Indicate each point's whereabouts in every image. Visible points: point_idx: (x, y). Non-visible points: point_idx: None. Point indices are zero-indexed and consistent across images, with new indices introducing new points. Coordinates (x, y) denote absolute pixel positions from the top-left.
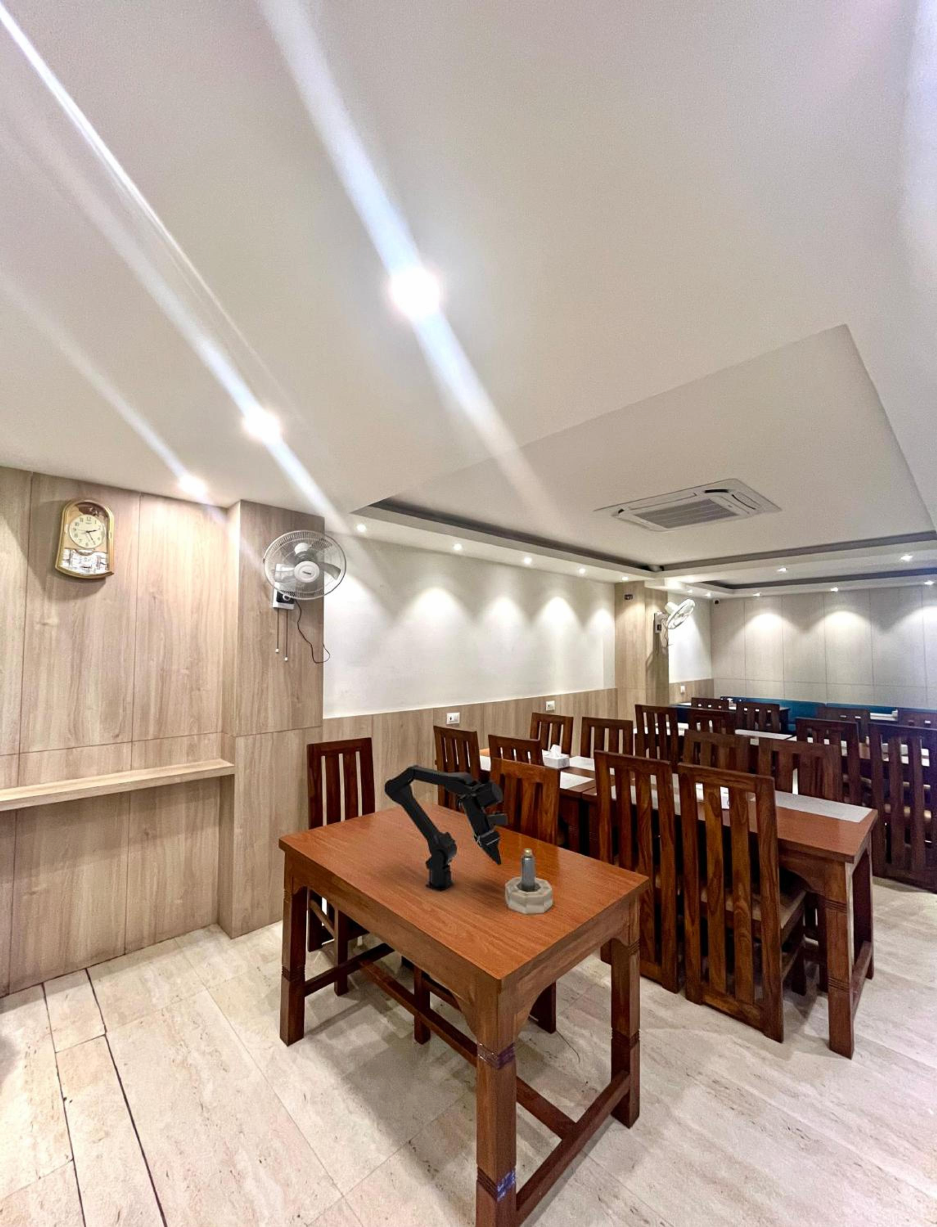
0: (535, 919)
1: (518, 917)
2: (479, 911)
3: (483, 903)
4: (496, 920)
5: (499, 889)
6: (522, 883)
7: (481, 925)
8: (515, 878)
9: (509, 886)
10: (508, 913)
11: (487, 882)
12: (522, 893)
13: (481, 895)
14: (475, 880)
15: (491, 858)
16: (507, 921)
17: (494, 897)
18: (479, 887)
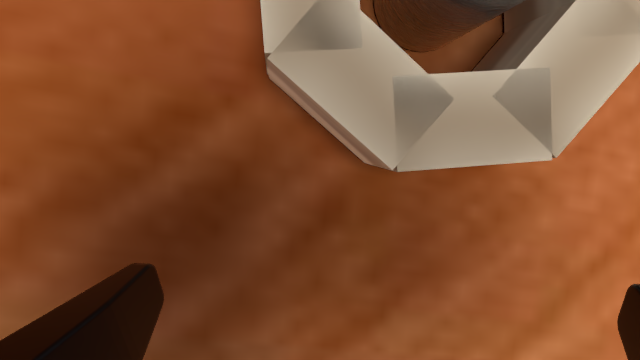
0: None
1: None
2: (480, 350)
3: (385, 316)
4: (597, 258)
5: (191, 178)
6: (505, 9)
7: None
8: (284, 45)
9: (443, 138)
10: (532, 171)
11: (61, 255)
12: (587, 47)
13: (271, 320)
14: None
15: (142, 350)
16: (618, 194)
17: (311, 232)
18: None
